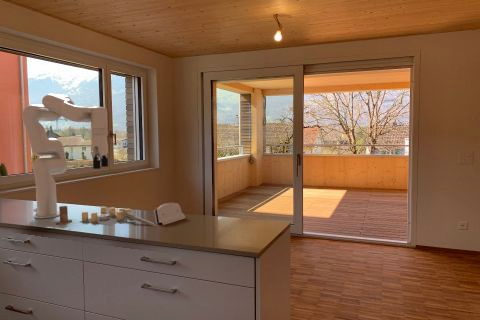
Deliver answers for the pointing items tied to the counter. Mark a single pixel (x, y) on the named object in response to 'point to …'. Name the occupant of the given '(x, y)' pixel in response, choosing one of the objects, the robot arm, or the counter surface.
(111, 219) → the spacer jig
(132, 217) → the caliper
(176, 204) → the beige flat slab
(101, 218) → the nut
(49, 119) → the robot arm
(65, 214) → the brown inverted t block
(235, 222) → the counter surface
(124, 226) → the counter surface
